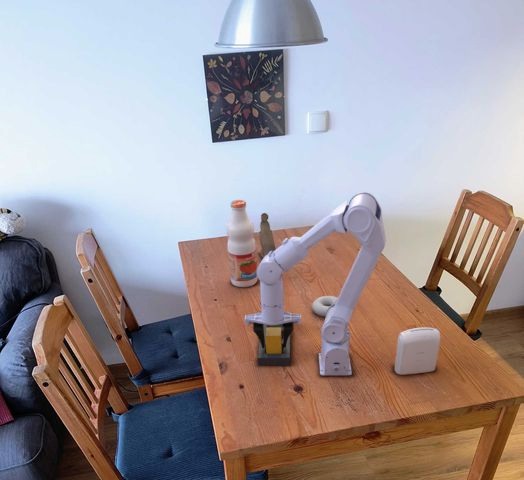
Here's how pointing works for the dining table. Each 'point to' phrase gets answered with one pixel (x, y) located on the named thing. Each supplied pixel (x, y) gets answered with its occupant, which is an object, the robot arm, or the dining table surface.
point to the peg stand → (274, 358)
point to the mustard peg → (273, 341)
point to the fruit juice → (241, 246)
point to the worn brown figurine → (266, 236)
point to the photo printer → (417, 350)
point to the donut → (323, 304)
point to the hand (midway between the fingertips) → (274, 345)
